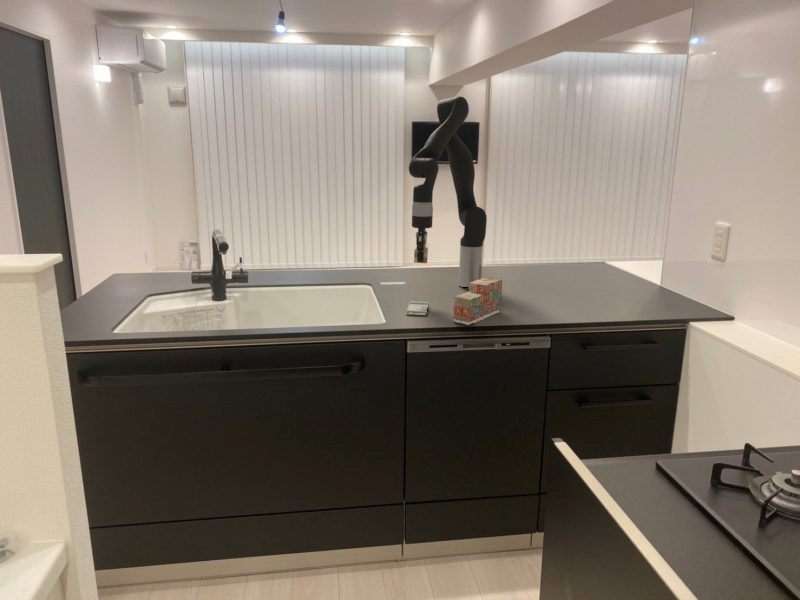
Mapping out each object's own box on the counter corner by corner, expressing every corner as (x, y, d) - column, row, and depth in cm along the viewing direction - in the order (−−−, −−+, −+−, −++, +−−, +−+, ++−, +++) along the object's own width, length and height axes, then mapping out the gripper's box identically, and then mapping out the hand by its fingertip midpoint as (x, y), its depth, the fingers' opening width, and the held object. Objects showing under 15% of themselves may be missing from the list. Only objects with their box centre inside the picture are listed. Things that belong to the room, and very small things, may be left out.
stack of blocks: (469, 326, 194) (471, 290, 190) (453, 323, 197) (454, 287, 194) (500, 312, 210) (502, 278, 207) (485, 309, 214) (487, 276, 210)
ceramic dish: (428, 306, 216) (428, 302, 215) (426, 315, 204) (426, 311, 204) (409, 305, 216) (409, 301, 216) (406, 314, 205) (406, 310, 204)
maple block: (427, 260, 221) (427, 247, 220) (426, 263, 217) (426, 249, 216) (415, 260, 222) (415, 247, 221) (414, 262, 218) (414, 249, 216)
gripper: (431, 217, 208) (429, 264, 212) (433, 212, 221) (432, 257, 226) (410, 216, 208) (408, 263, 213) (413, 211, 222) (412, 256, 227)
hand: (420, 260), depth 219 cm, fingers closed on maple block, 4 cm apart
